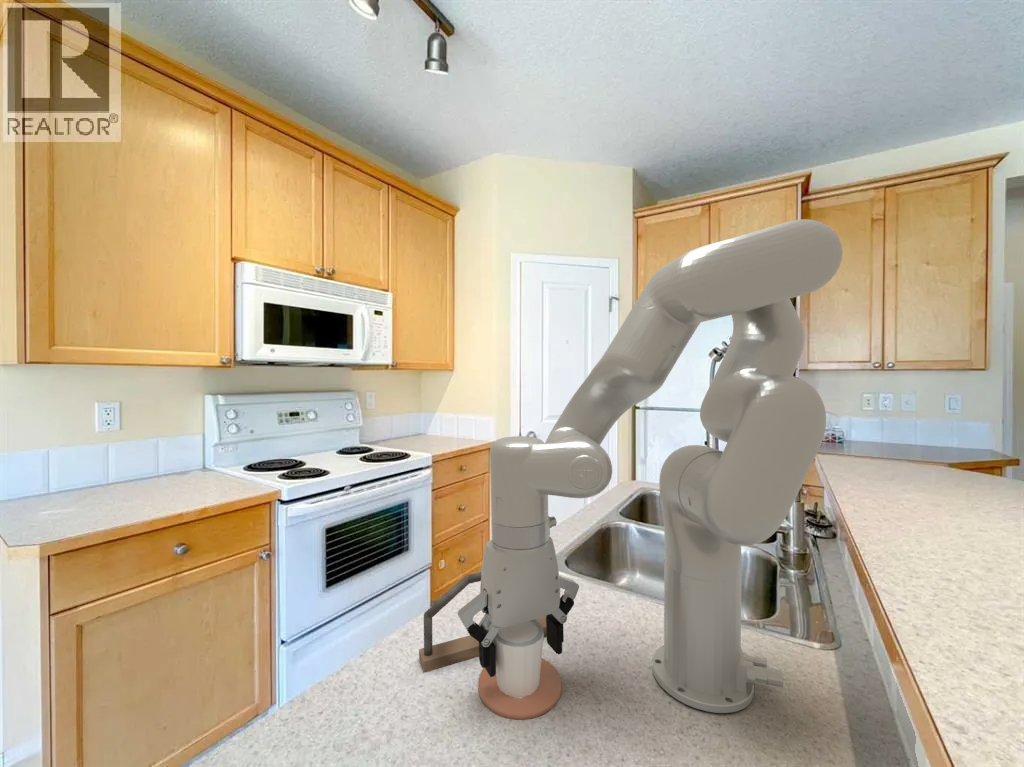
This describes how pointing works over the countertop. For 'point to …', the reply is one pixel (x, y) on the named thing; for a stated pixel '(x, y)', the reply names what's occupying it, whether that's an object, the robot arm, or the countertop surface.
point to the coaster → (526, 705)
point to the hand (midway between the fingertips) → (522, 658)
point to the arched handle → (452, 649)
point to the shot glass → (519, 658)
